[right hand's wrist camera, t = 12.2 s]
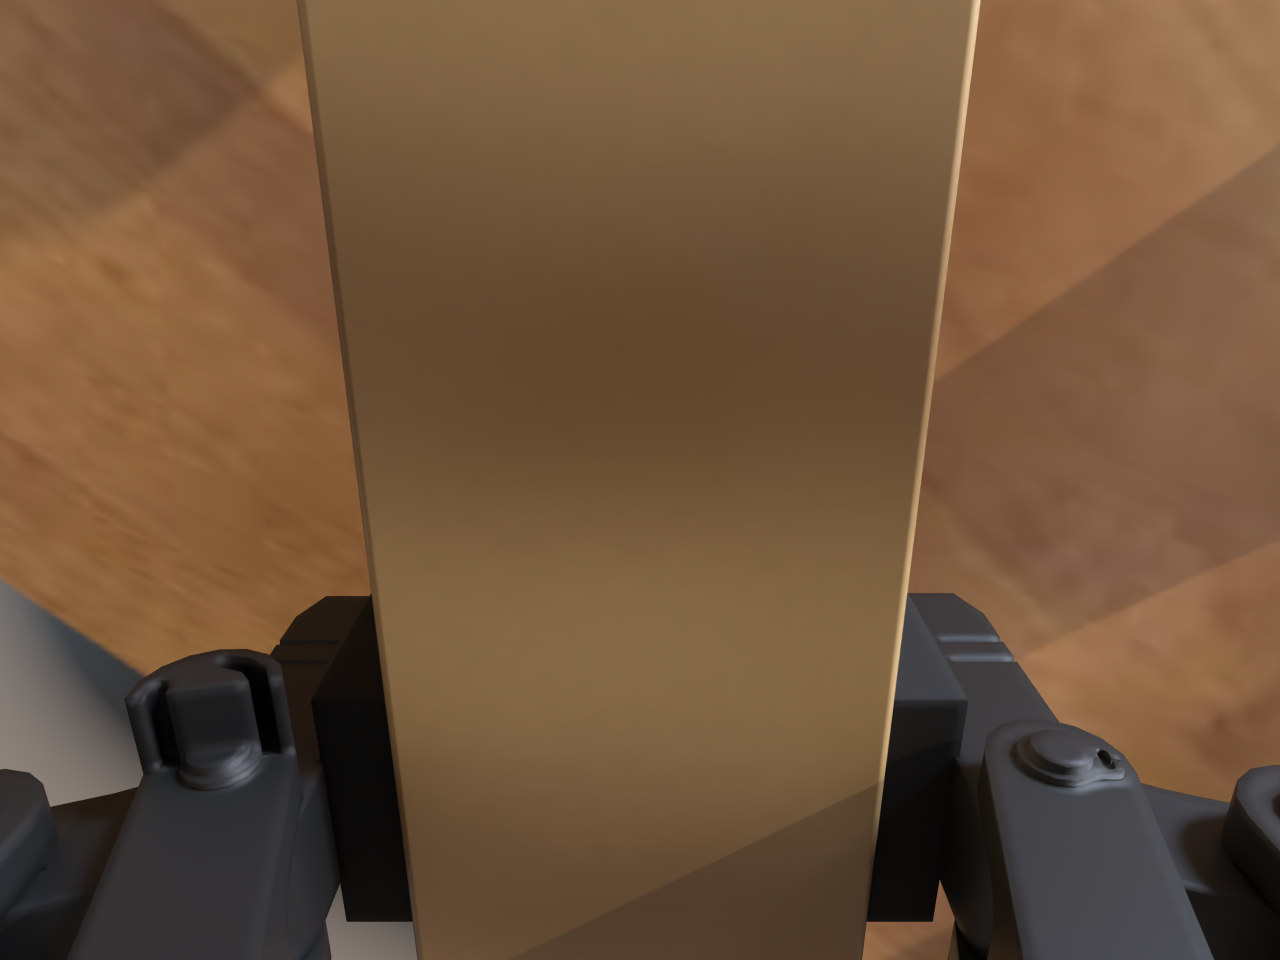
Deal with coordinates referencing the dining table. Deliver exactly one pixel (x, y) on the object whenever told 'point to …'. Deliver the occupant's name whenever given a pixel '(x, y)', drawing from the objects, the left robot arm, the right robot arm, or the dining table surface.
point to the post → (639, 446)
